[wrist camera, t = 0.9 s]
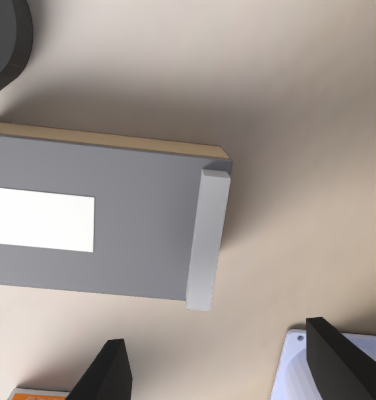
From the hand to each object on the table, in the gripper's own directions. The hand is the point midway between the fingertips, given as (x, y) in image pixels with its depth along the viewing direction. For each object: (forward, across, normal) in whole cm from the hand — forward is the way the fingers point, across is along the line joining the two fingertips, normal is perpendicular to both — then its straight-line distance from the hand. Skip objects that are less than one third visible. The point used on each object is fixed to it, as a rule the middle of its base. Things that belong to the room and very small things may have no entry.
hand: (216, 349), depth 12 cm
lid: (+6, +6, -4) cm, 9 cm away
